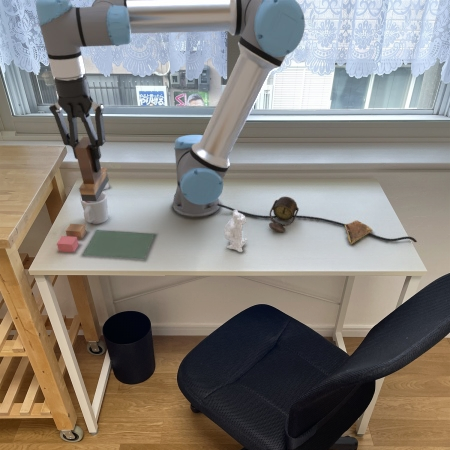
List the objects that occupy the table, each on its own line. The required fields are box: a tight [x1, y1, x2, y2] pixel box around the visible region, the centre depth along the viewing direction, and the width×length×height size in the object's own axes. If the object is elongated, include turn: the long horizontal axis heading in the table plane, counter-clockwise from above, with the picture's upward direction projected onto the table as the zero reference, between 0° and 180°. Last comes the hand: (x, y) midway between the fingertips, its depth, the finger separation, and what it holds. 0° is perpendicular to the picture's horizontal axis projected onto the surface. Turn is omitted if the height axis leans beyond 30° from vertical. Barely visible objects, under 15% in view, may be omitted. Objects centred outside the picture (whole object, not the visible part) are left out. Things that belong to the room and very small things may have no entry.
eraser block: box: [56, 235, 80, 253], centre depth 127 cm, size 4×4×3 cm
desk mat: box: [82, 229, 156, 260], centre depth 129 cm, size 18×13×1 cm
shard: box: [344, 220, 373, 245], centre depth 134 cm, size 11×8×2 cm
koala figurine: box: [223, 209, 248, 253], centre depth 125 cm, size 8×7×12 cm
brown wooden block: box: [75, 136, 110, 201], centre depth 119 cm, size 12×4×14 cm, turn 175°
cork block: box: [65, 223, 87, 240], centre depth 132 cm, size 4×4×3 cm
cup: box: [79, 191, 109, 225], centre depth 136 cm, size 11×8×8 cm
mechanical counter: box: [268, 196, 300, 233], centre depth 137 cm, size 7×13×10 cm
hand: (91, 169), depth 119 cm, fingers closed on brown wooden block, 3 cm apart
